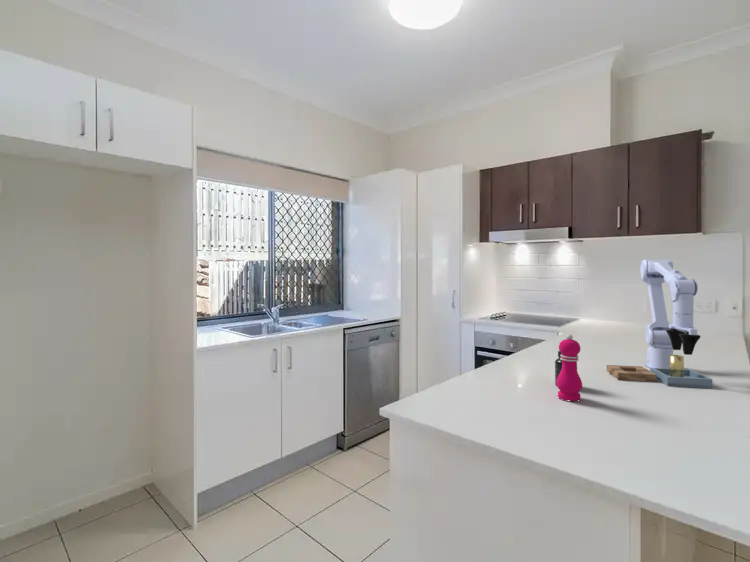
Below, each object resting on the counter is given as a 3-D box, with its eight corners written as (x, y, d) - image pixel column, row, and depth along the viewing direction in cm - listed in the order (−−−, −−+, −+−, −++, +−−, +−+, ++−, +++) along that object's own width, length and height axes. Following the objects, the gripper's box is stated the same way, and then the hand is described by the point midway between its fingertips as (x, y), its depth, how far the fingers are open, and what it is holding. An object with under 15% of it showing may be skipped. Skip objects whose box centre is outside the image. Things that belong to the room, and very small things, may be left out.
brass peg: (668, 376, 142) (667, 354, 141) (681, 377, 140) (681, 355, 140) (672, 379, 138) (671, 356, 138) (685, 380, 136) (685, 357, 136)
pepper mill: (585, 403, 118) (586, 336, 117) (559, 401, 119) (560, 336, 119) (578, 395, 125) (578, 332, 124) (553, 394, 126) (554, 332, 126)
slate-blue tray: (650, 375, 147) (650, 367, 146) (690, 377, 144) (690, 369, 143) (667, 385, 134) (667, 377, 134) (712, 388, 131) (712, 379, 131)
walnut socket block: (606, 371, 153) (606, 364, 153) (641, 372, 150) (641, 366, 150) (618, 379, 141) (618, 373, 141) (656, 381, 139) (656, 374, 139)
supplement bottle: (572, 383, 137) (572, 349, 137) (580, 389, 131) (580, 353, 130) (551, 383, 138) (552, 349, 138) (559, 389, 131) (559, 353, 131)
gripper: (660, 311, 146) (659, 347, 147) (680, 315, 132) (679, 356, 133) (682, 311, 145) (681, 348, 145) (704, 316, 130) (704, 357, 131)
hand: (682, 352), depth 139 cm, fingers open, 7 cm apart
